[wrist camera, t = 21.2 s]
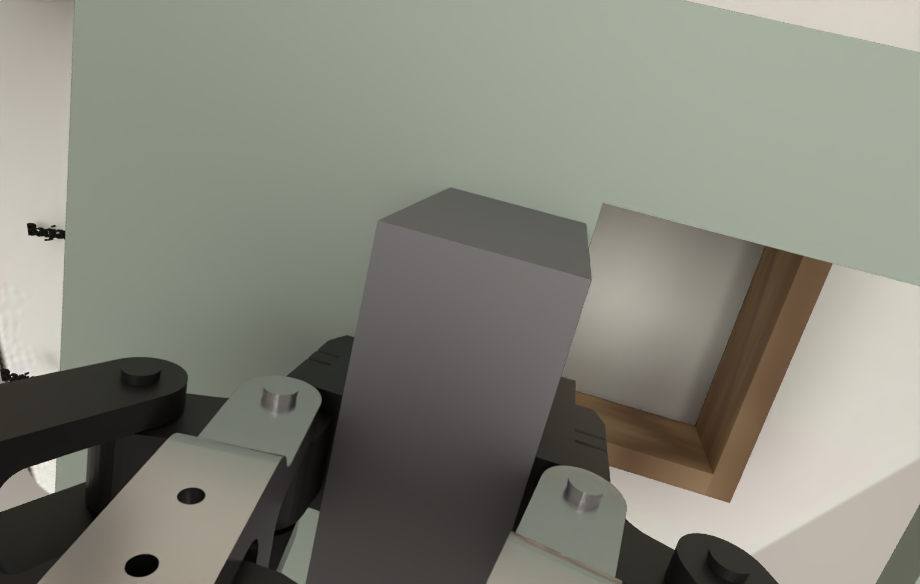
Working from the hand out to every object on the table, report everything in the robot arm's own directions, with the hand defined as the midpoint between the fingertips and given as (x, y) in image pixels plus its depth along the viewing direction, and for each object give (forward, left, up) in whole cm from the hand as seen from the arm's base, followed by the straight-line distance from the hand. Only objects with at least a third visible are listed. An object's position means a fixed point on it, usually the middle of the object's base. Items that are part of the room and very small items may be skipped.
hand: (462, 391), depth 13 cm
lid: (+1, 0, -2) cm, 2 cm away
